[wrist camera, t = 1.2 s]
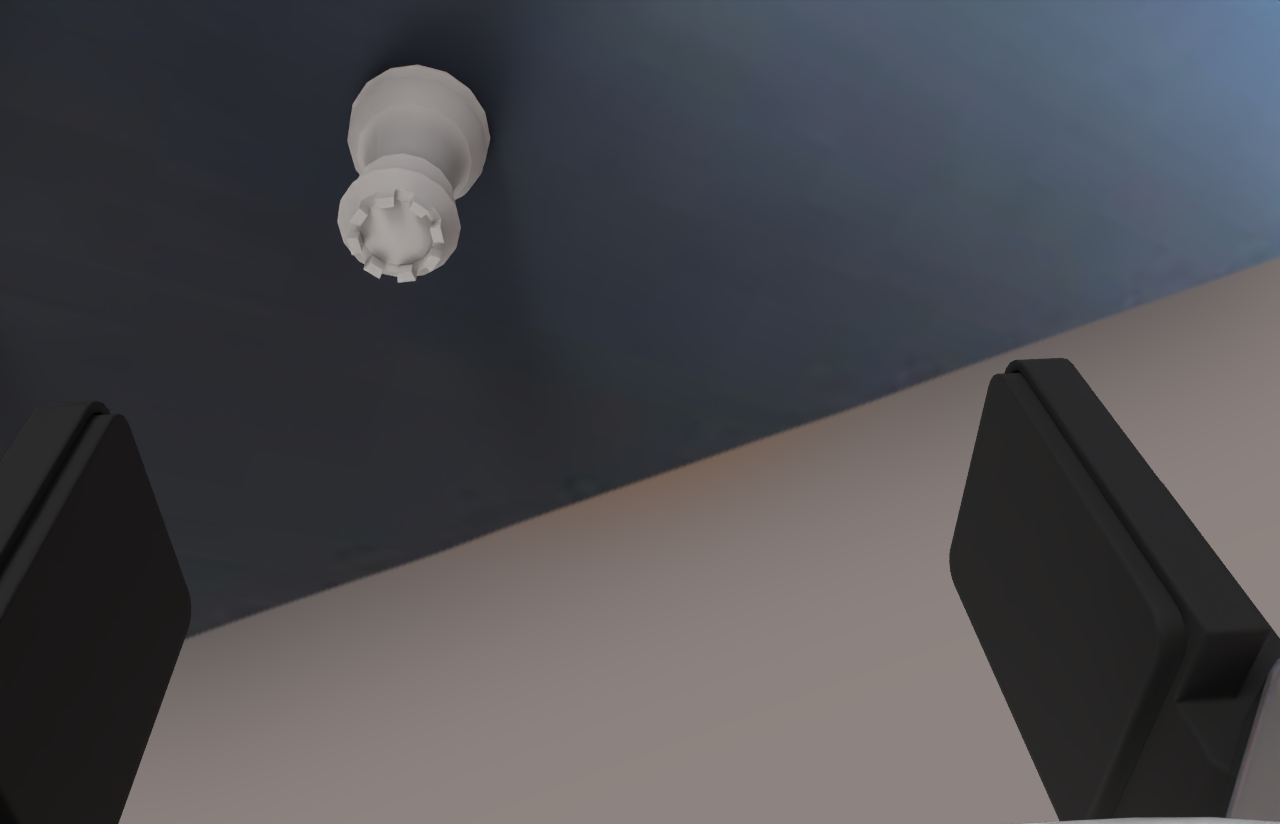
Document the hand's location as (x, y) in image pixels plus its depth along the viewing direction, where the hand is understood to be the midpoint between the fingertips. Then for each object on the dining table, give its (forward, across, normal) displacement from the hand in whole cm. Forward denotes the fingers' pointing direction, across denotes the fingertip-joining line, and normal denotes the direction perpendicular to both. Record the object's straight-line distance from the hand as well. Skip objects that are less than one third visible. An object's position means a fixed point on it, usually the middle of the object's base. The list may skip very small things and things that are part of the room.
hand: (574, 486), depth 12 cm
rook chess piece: (+25, +4, +5) cm, 26 cm away
